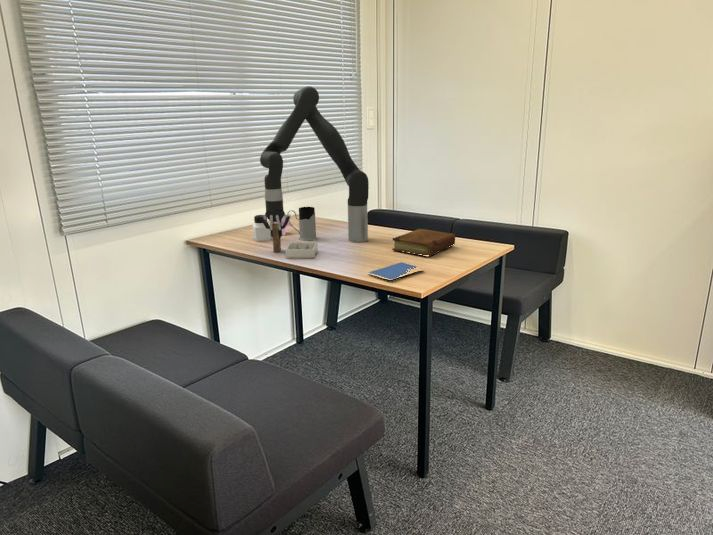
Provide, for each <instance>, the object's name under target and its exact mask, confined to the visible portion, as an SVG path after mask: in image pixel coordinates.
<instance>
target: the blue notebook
mask: <svg viewBox="0 0 713 535" xmlns="http://www.w3.org/2000/svg"><path fill="white" fill-rule="evenodd" d="M413 267H414V268H416V267H418V266H416V265H412V264H410V263H407V262H404V261H403V262H401V261H400V262H398V263H395V264H391V265H389V266H388V265H387V266H385V267H382V268H378V269H374V270H372V271H368V273H370V274H374V275H378V276H381V277H384V278H387V279H390V280H391V279H395V278H397V277H399V276H400V275H403V274H406V273H407V272H408V270H407V269H410V268H411V269H414V268H413ZM411 269H410V270H411ZM406 271H407V272H406ZM409 272H410V271H409Z"/></svg>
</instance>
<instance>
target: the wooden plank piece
mask: <svg viewBox="0 0 713 535" xmlns="http://www.w3.org/2000/svg"><path fill="white" fill-rule="evenodd" d="M272 230H273V238H272V246H273V252H275V253H278V252H280V251H282V243H281V238H279V232H278V225H277V223H274V224H273V225H272Z"/></svg>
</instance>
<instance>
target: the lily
mask: <svg viewBox="0 0 713 535" xmlns="http://www.w3.org/2000/svg"><path fill="white" fill-rule="evenodd" d="M288 215H290V217H291V216H292V213H288ZM284 218H285V217H283V218H282V220H281V224H282V226H283V224H284V222H285V219H284ZM274 223H277V222H274ZM290 223H291V222H290ZM290 223H289V221H288V223H287V225H286V227H285V228H284V229H282V236H286V234H287V228H291V227H292V226H293V227H294V225H293V224H292V226H291V225H290ZM268 224H270V221H269V222H268ZM293 227H292V228H293Z"/></svg>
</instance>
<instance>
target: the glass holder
mask: <svg viewBox="0 0 713 535" xmlns="http://www.w3.org/2000/svg"><path fill="white" fill-rule="evenodd" d="M291 212H293V213H294V215H295V219H296V220H298V225H299V226H298V228H299V230H298V229H297V228H296V227H295V226H294V225H293V224H292V222H291V221H290V220H289V221H288V222H289V223H290V225H291V226H292V225H293V226H292V228H293V229H294V230H295V231H296V232H298V234H299V238H298V240H299V241H301V242H314V241H316V240H318V237H317V229H316V228H317V226H316V225H317V224H316V222H317V221H316V211H315V207H314V206H302V207H299V208H298V217H297V213H296V211H295V210H289V211H287V214H286V215H288V214H290V213H291Z"/></svg>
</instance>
